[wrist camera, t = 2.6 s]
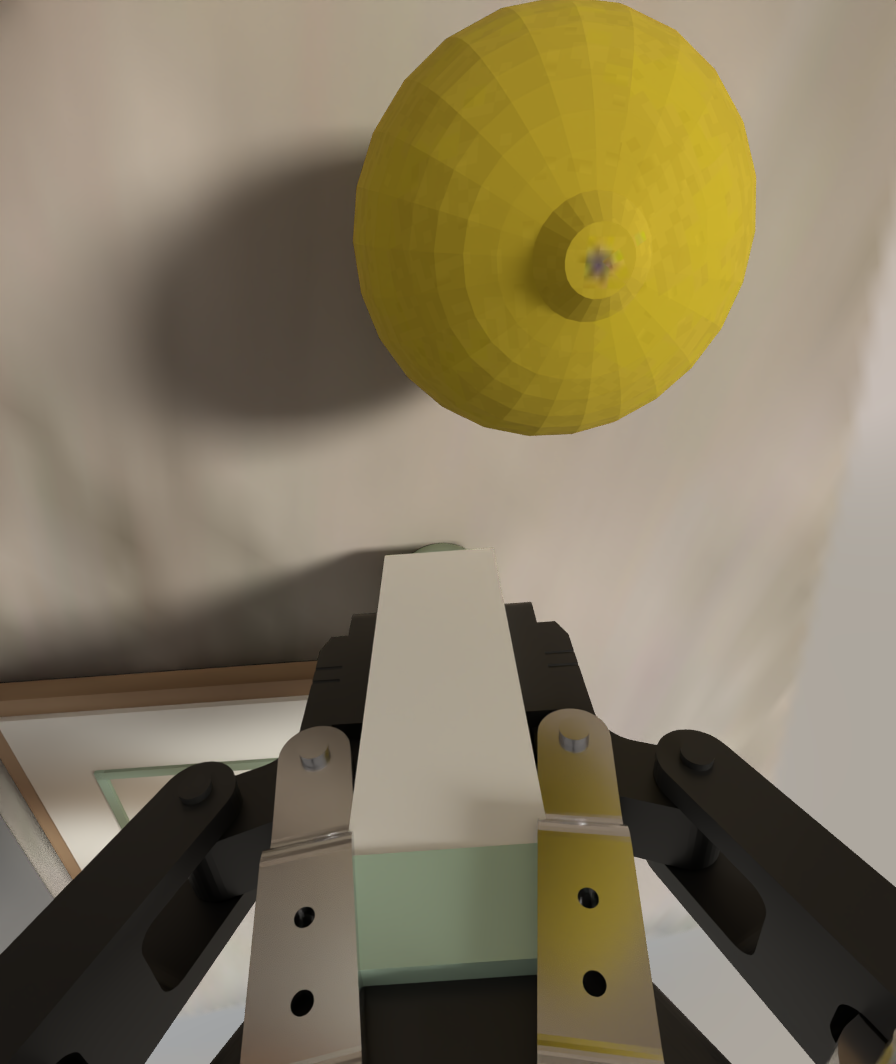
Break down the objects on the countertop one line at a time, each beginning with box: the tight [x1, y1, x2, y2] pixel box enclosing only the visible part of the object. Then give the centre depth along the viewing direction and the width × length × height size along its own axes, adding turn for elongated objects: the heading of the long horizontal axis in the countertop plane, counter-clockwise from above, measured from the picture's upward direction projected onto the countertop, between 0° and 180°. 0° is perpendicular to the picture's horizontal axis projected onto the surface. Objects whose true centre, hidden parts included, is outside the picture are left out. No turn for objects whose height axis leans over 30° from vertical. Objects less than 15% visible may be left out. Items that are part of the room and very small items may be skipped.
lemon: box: [353, 0, 756, 436], centre depth 9 cm, size 6×6×8 cm
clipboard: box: [0, 661, 317, 879], centre depth 20 cm, size 10×14×1 cm
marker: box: [348, 543, 546, 986], centre depth 12 cm, size 3×3×10 cm
